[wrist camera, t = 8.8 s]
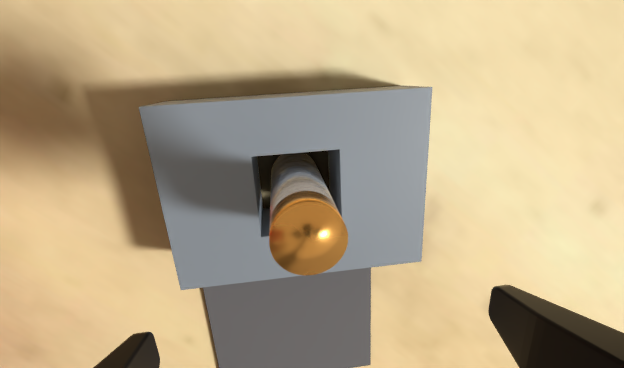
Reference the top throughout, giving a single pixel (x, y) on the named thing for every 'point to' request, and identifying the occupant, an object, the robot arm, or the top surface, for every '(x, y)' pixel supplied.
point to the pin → (303, 218)
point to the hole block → (284, 140)
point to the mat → (293, 321)
